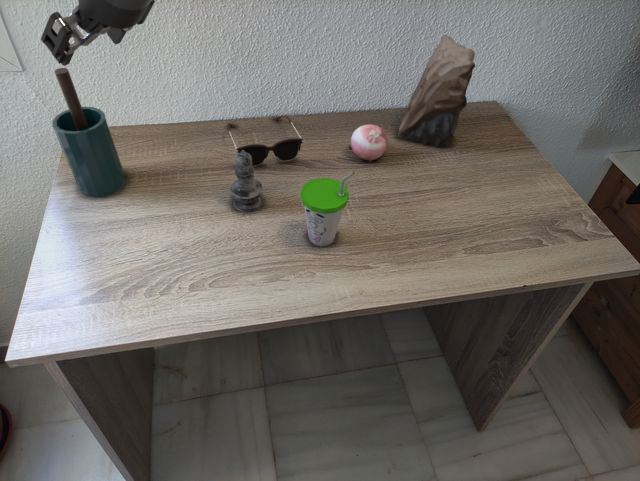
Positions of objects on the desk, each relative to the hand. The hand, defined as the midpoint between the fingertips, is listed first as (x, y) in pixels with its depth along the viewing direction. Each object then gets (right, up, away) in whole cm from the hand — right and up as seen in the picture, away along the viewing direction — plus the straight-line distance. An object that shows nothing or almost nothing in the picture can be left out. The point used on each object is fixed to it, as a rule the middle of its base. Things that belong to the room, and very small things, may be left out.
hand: (87, 48), depth 65 cm
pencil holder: (-9, -16, +25) cm, 31 cm away
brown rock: (+56, -2, +42) cm, 70 cm away
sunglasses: (+20, -6, +37) cm, 42 cm away
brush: (-9, -15, +24) cm, 30 cm away
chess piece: (+19, -20, +23) cm, 36 cm away
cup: (+33, -26, +18) cm, 46 cm away
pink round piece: (+43, -9, +35) cm, 56 cm away
